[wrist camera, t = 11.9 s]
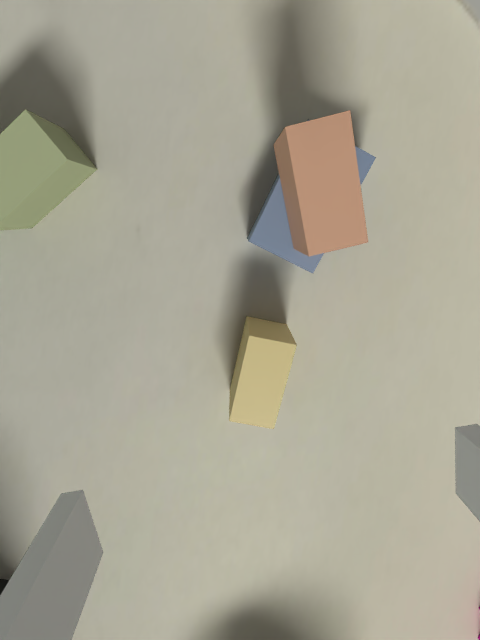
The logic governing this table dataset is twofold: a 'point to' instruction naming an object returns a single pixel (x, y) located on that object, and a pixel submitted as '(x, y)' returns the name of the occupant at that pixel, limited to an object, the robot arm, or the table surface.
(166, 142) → the table surface
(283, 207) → the brick slate
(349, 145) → the brick terracotta
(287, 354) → the brick ochre
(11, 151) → the brick olive
